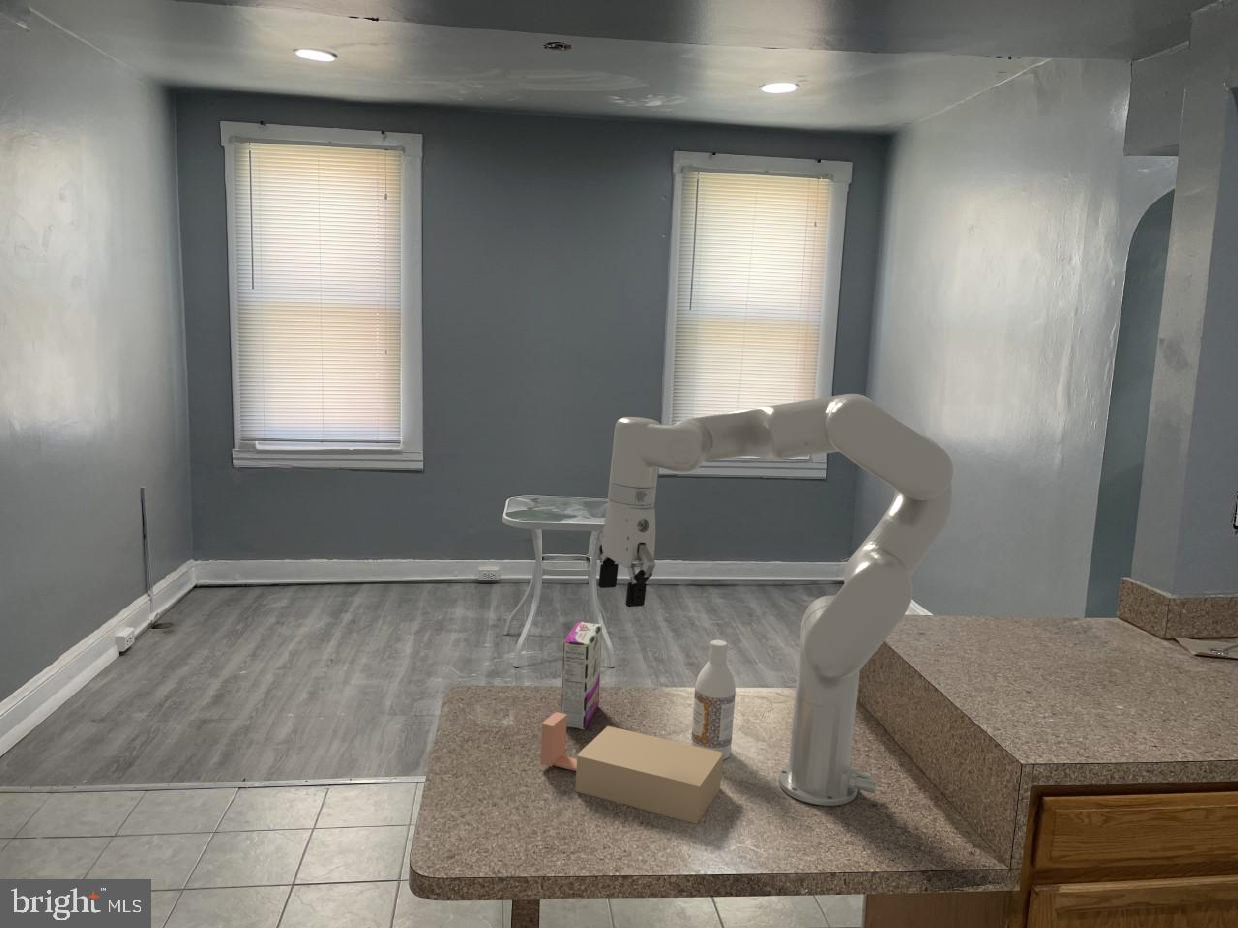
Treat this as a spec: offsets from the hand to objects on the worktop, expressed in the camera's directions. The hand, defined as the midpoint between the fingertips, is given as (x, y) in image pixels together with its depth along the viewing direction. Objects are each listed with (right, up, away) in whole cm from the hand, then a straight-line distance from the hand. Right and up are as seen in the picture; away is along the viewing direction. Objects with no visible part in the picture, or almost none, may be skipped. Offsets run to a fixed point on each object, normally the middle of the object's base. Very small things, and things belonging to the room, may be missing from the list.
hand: (620, 596), depth 152 cm
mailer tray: (0, -29, -4) cm, 29 cm away
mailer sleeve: (+4, -30, -5) cm, 31 cm away
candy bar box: (-8, -25, +20) cm, 33 cm away
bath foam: (+16, -28, +8) cm, 33 cm away
